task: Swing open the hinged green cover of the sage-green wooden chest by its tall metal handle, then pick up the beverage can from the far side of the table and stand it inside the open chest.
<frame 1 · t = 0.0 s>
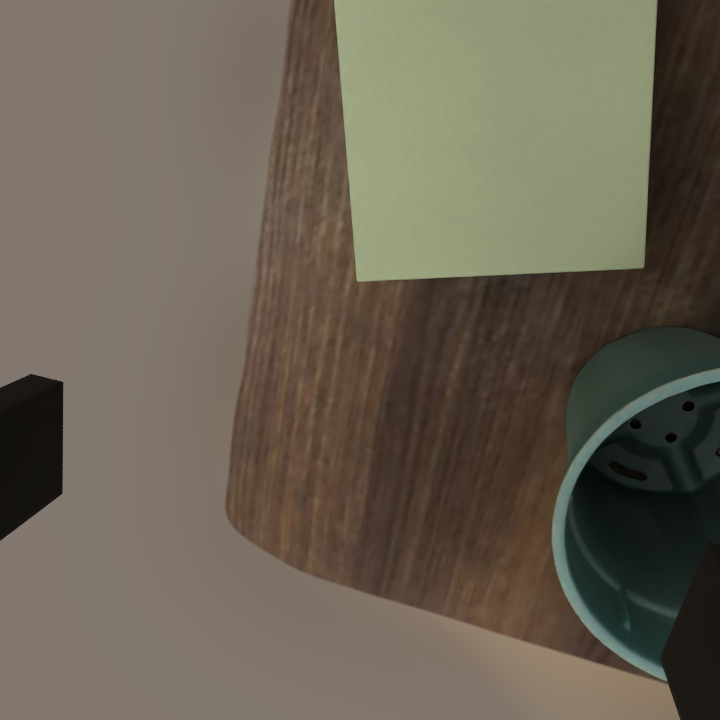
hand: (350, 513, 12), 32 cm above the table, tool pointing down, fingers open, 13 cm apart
flower pot: (656, 408, 42), on the table
hinged green cover: (489, 55, 24), point 15 cm above the table, hinge at 0.0°
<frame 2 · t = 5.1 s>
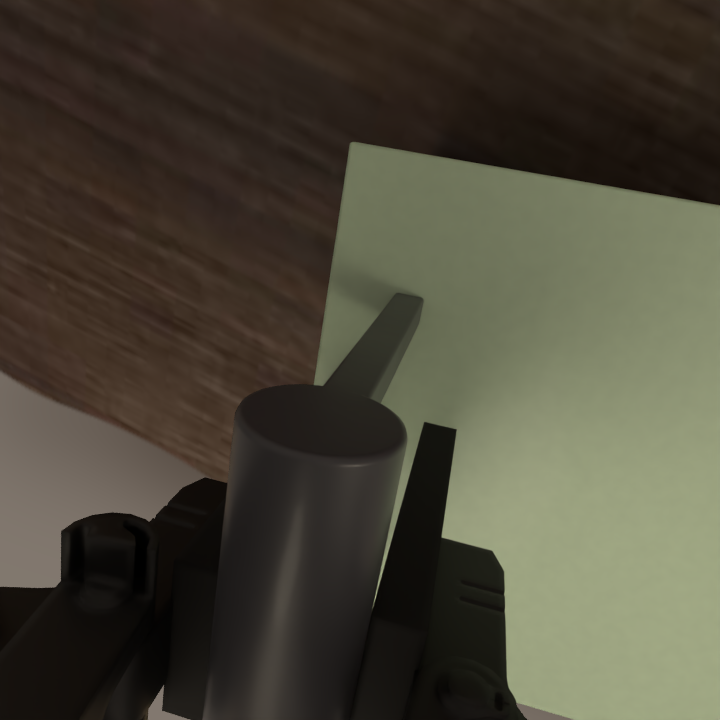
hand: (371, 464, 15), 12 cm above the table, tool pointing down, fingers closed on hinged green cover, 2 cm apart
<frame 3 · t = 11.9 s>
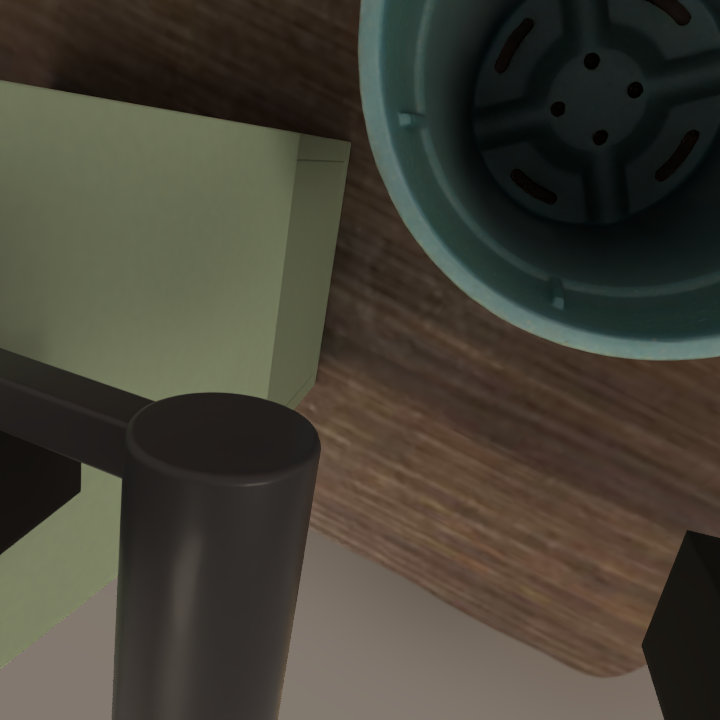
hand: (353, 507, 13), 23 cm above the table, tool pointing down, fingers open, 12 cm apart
flower pot: (590, 103, 30), on the table
hinged green cover: (242, 421, 16), point 20 cm above the table, hinge at 80.4°, touching gripper
chest: (185, 241, 36), on the table
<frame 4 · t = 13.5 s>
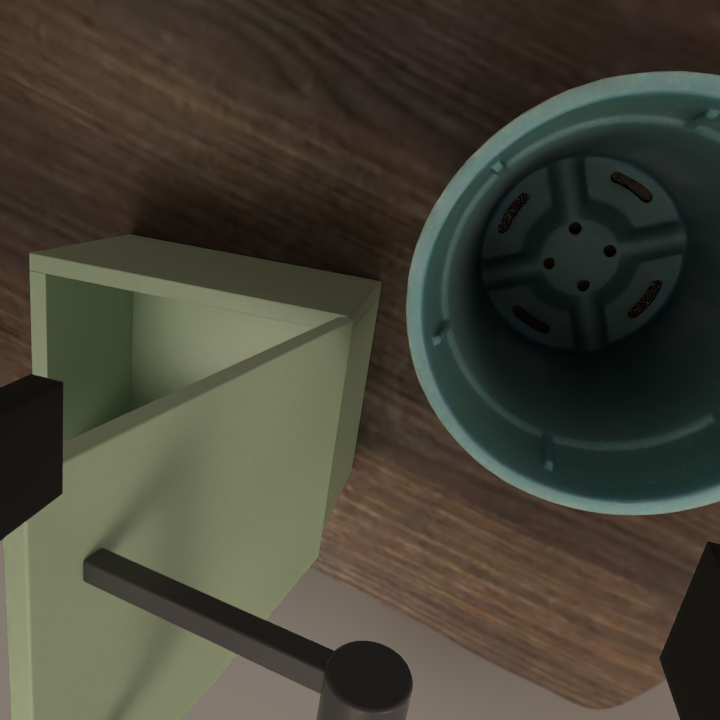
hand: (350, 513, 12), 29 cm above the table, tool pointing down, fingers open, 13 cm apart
flower pot: (574, 256, 38), on the table
hinged green cover: (329, 573, 23), point 21 cm above the table, hinge at 79.2°, touching gripper
chest: (243, 354, 44), on the table
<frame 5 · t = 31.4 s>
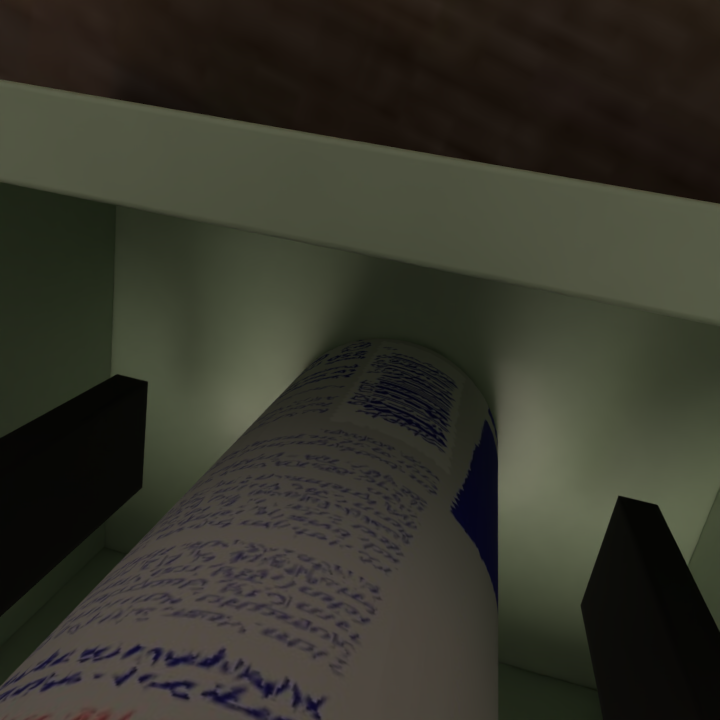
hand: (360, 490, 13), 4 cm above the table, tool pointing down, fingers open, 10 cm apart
chest: (394, 421, 17), on the table
beverage can: (389, 433, 16), point 1 cm above the table, touching chest
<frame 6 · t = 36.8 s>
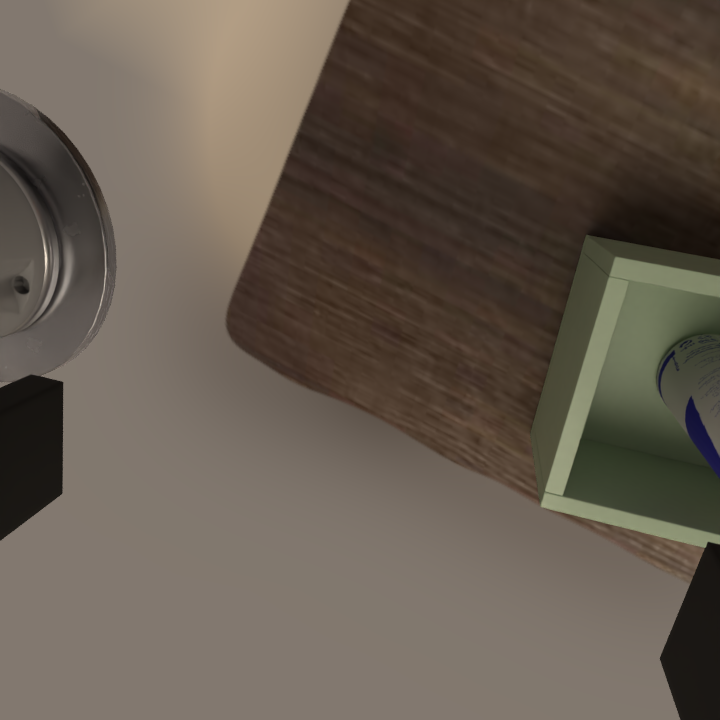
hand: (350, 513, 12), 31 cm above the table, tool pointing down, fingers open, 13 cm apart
chest: (697, 369, 40), on the table
beverage can: (701, 374, 39), point 1 cm above the table, touching chest
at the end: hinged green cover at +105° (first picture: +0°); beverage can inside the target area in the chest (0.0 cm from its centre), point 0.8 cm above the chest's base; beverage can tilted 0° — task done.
